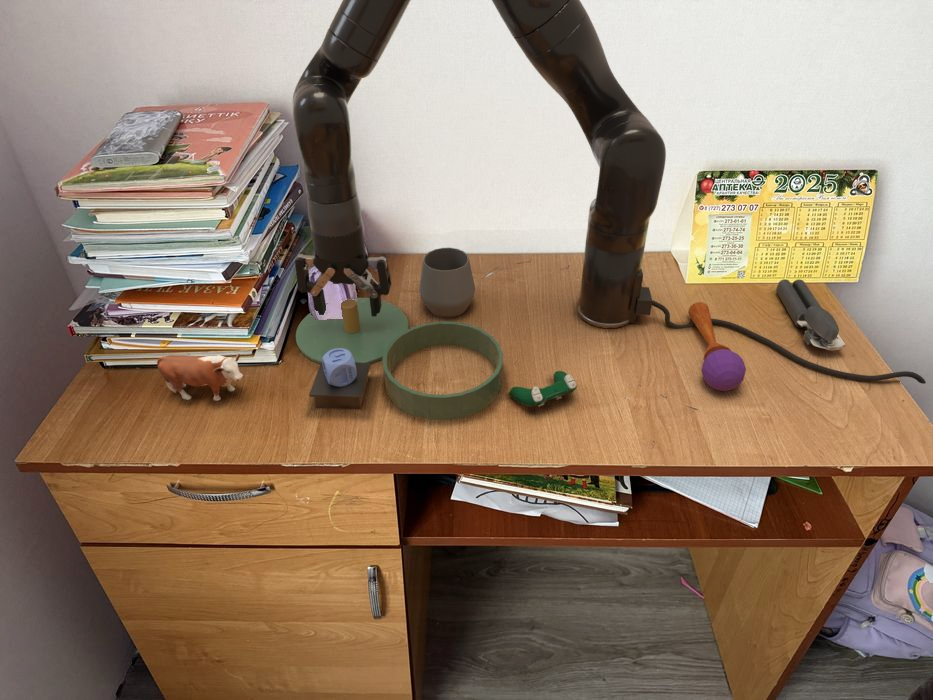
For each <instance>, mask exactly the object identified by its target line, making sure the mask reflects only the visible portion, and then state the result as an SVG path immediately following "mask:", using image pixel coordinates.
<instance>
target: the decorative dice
mask: <svg viewBox="0 0 933 700" xmlns="http://www.w3.org/2000/svg"><path fill="white" fill-rule="evenodd" d="M322 365H323V369H324V373H325V376H326V379H327V381H328V383H329V384H330V385H333V386H337V387H342V386H346V385H348V384H350V383H351V382H353V381H354V379H355V378H356V377H357V369H356V365H355V362H354V358H353V356H352V354H351V352H350V351H349V350H347V349H344V348H336V349H332V350H330V351H328V352H327V353H326V354H325V355H324V356H323V357H322Z"/></svg>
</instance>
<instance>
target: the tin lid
mask: <svg viewBox="0 0 933 700" xmlns="http://www.w3.org/2000/svg"><path fill="white" fill-rule="evenodd" d="M356 298H357V302H356V301H355V300H352V299H349V298H347V299H348V300H345V301H343V302H342V303H341V310H342V317H343V319H327V320H315V319H314V318H313V316H312V315H311V312H310V313H308V314H307V315H306V316H304V318H303V319H302V320H301V321H300V323H299V324H298V326H297V328H296V330H295V331H296V332H295V342H296V345H297V349H298V350H299V352H300V353H301V354H302V355H303V356H304V357H305V358H307V359H308V360H311V361H312V362H314V363H317V364H319V365H320V364H321V362H322V357H323V356H324V355H325V354H326V353H327V352H328V351H330V350H332V349H336V348H344V349H347V350H349V351H350V352H351V354H352V356H353V358H354V362H357V363H371V364H374V363H377V362H381V361H382V359H383V355H384V351H385V349H386V348H387V346H388V345H389V343H390V342H391V341H392V340H393V339H394V338H395V337H397V336H398V335H399V334H401V333H402V332H404V331H406V330H408V329H410V325H409V320H408V317H407V315H406V314H405V313H404V311H402V310H401V309H400V308H399V307H398V306H396V305H395V304H392V303H390V302H388V301H385V300H382V299H381V305H382V306H381V310H380V313H377V316H372V315H371V306H370V297H356Z"/></svg>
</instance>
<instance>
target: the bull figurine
mask: <svg viewBox="0 0 933 700" xmlns="http://www.w3.org/2000/svg"><path fill="white" fill-rule="evenodd" d="M240 357H241V353H238V354H236V355H235V356H234V358H233V357H229V356H228V357H226V356H224V355H221V354H220V355H219V354H216V355H185V354H169V355H164V356H160V357H159V358H158V359H157V361H156V367H157V370H158V371H159V374H160V375H161V377H162V378H163V380H164V382H165V385H166V386H167V388H168V389H169V390H170V391H171V392H173V393H175V394H176V393H177V392H178V393H179V394H180V396H181V397H182V399H183V400H186V401H187V400H188V401H189V400H191V399H192V398H193V396H192V395H190V394H188V393H187V392H186V391H185V390H184V388H186V387H187V385H189V386H191V387H203V386H209V387H210V389H211V391H212V393H213V399H212V400H213V401H216V402H217V401H220V400H221V398H222V397H221V396H220V388H221V387H222V388H223V387H226V388H227V391H229V392H234V391H235V390H236V388H235V387H234V386H233V385H232V384H231V383H232V382H233V381H234V382H236V383H237V382H240V381H242V380H243V379H244V378H245V377H244V374H242V373H241V371H240V369H239V364H238V363H239V362H238V361H239V360H240Z"/></svg>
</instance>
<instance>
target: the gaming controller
mask: <svg viewBox="0 0 933 700" xmlns="http://www.w3.org/2000/svg"><path fill="white" fill-rule="evenodd" d="M553 382H554V383H552V384H549V385H547V386H544V387H541V388H539V386H537V385H536V386H533V387H532V388H527V387H522V386H512V387H511V388H510V390H509V391H508V395H509V396H510V397H511V398H512V399H513V400H514V401H516V402H517V403H519V404H521V405H524V406H526V407H530V408H533V407H535V406H538V407H542V406H544V405H545V402H548V401H550V400H551V401H552V400H553V399H554V400H556V401H558V400H560V399H562V396H564V395H567V394H570V393H573V392H575V391H576V389H577V387H578V385H577V382H576V380H575V379H574V377H573V376H572V375H571V374H570V373H567V372H565V371H563V370H556V371H555V372H554V373H553Z"/></svg>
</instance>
